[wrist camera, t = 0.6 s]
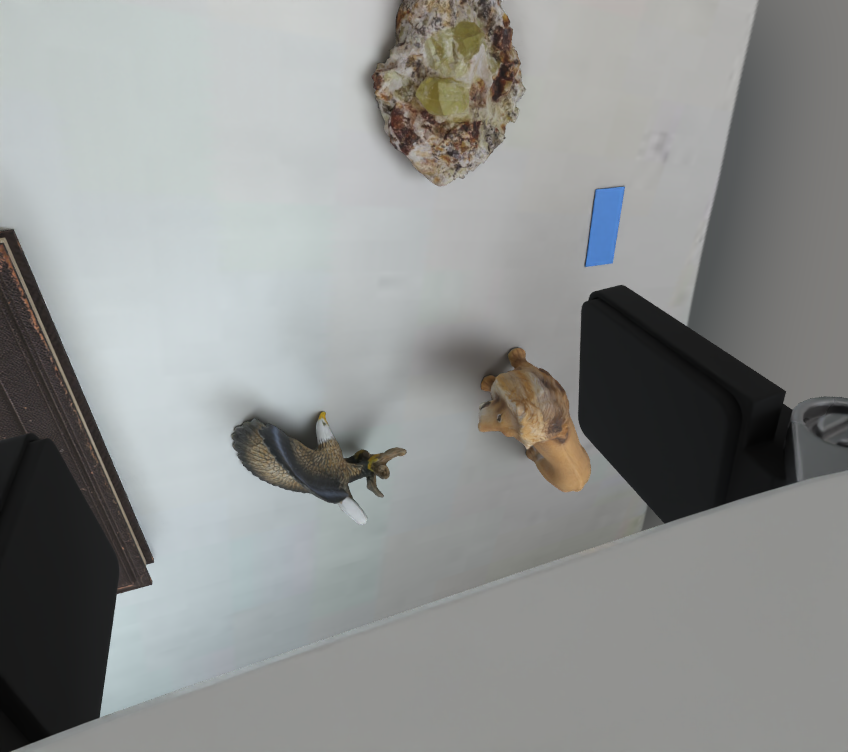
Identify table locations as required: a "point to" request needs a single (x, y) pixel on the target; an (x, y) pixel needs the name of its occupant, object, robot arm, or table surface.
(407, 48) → the mineral rock
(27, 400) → the hardcover book
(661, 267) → the table surface
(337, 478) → the eagle figurine
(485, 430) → the lion figurine
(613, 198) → the tape marks
